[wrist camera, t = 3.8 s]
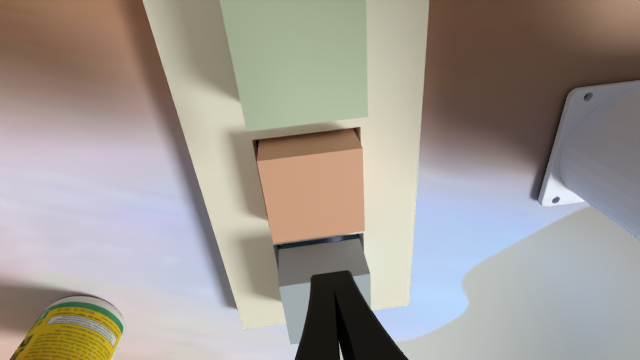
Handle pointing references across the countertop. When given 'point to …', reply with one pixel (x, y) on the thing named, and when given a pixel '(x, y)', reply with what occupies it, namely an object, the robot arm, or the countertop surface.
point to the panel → (241, 148)
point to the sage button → (298, 60)
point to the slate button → (311, 261)
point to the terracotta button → (312, 184)
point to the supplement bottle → (74, 331)
